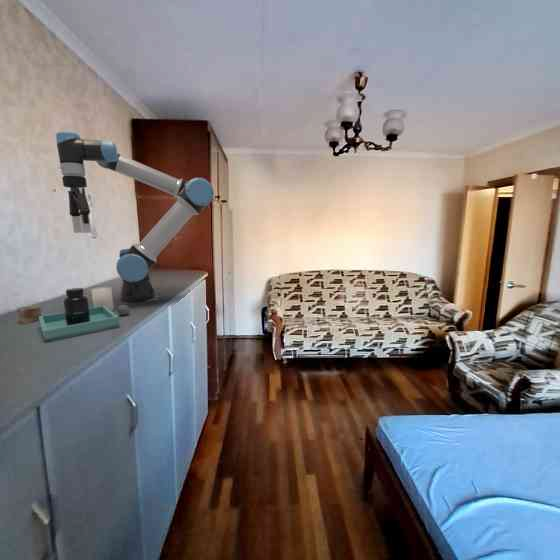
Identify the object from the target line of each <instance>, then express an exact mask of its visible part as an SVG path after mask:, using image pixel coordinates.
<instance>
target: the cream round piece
mask: <svg viewBox="0 0 560 560" xmlns="http://www.w3.org/2000/svg"><path fill="white" fill-rule="evenodd" d="M90 290H91V297H92V304H93V307H99V306H106V307H107V308H108V309H109V310H111V311H112V312H113V311H114V310H115V308H114V307H115V305H114V298H113V288H112V287H111V286H98V287H94V288H92V289H90Z"/></svg>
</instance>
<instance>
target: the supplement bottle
mask: <svg viewBox="0 0 560 560" xmlns="http://www.w3.org/2000/svg"><path fill="white" fill-rule="evenodd" d="M84 294H85V292H84V288H81V287H76V288H75V287H73V288H68V289H65V296H66V297H65V298H64V300H63V308H64V312H65V318H66V324H67V326H69V325H74V324H80V323H85V322H90V314H89V308H90V306H89V299H88V297H87V296H86V295H84Z"/></svg>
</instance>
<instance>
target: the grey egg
mask: <svg viewBox="0 0 560 560" xmlns="http://www.w3.org/2000/svg"><path fill="white" fill-rule="evenodd" d="M129 312H130V308H129V306H128V305H126V304H121V305H119V306H118V307H117V313H118V315H120V316H126V315H128V314H129Z"/></svg>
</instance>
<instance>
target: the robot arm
mask: <svg viewBox="0 0 560 560" xmlns="http://www.w3.org/2000/svg"><path fill="white" fill-rule="evenodd" d="M55 137H56V147H57V153H58V158H59V159H58V160H59V164H60V165H59V166H58V168H59V169H60V173H61V175H62V179H61V180H62V185H63V187H64V188H70V190H68V191H67V193H68V202H69V203H68V205H69V216H71V223H72V226H73V233H75V234H76V233H79V234H81V233H83V234H87V233H88V234H90V233H92V228H91V226H92V225H91V220H90V213H91V210H90V206H89V205H90V204H89V202H88V198H87V196H86V191H85V190H86V188H87V187H88V184H87V179H86V177H85V176H86V170H85V165H84V161H85V162H86V161H87V162H88V161H90V162H91V161H92V162H96V163H97V165H99V166H100V167H101V168H103V169H107V170H108V169H109V170H111V171H114V172H116V173H118V174H121V175H123V176H126V177H128V178H131V179H133V180H135V181H138V182H141V183H143V184H144V185H148V186H150V187H153V188H155V189H158V190H160V191H162V192H165V193H167V194H170V195H172V196H173V197H174V199H176V201H175V203H174V204H173V205H172V206H171V207H170V209H169V210H167V211H166V213H165V214H164V215H163V216H162V217H161V218H160V220H159V221H158V222H157V223H156V224H155V225H154V226H153V227H152V229H151V230H150V231H149V232H148V233H147V234H146V235H145V236H144V238H143V239H142V240H141V241H140V242H139V243H134V244H132V245H131V246H130V247H129V248H123V249H120V250H119V255H118V256H119V259H118V260H117V262H116V272H117V274H118V276H119V277H120V279H122V285H121V289H120V292H119V298H120V299H119V300H120V301H122V302H139V301H147V300H150V299H153V298H155V297H156V291H155V288H154V285H153V284H152V282H151V276H150V271H151V269H152V268H153V267H154V265H156V263H157V257H158V256H159V254H160V253H162V251H163V250H164V249H165V247H167V245H168V244H169V243H170V242H171V241H172V240H173V239H174V237H175V236H176V235H177V234H178V233H179V232H180V230H181V229H182V228H183V227H184V226H185V225H186V223H188V221H189V220H190V219H191V218H192V217H193V216H198V215H200V213H201V212H202V211H203V210H204V209H205V208H206V207H207V205H209V204H211V202H212V201H213V199H214V192H215V191H214V188H213V186H212V183H211V182H209V181H208V180H207V179H205V178H204V177H194V178H191V179H190V180H186V179H184V178H179V179H178V178H177V177H174V176H171V175H169V174H167V173H164V172H162V171H159V170H157V169H154V168H152V167H150V166H148V165H145V164H143V163H141V162H138V161H136V160H133V159H132V158H129V157H127V156H124V155H123V154H119V153H118V148H117V144H116V142H114V141H110V140H105V139H104V140H102V139H101V140H100V139H99V140H97V139H82V138H81V137H80V134H79V133H77V132H74V131H68V130H61V131H57V133H56V134H55Z"/></svg>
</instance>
